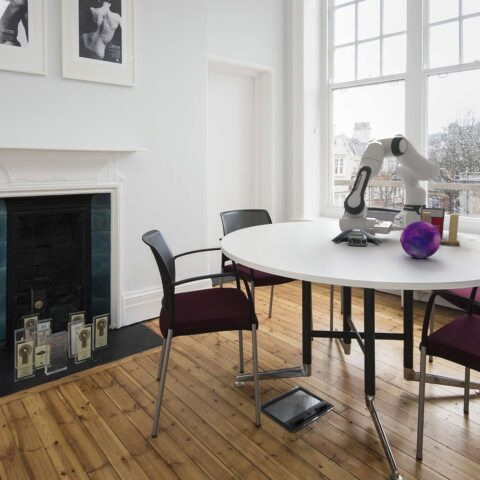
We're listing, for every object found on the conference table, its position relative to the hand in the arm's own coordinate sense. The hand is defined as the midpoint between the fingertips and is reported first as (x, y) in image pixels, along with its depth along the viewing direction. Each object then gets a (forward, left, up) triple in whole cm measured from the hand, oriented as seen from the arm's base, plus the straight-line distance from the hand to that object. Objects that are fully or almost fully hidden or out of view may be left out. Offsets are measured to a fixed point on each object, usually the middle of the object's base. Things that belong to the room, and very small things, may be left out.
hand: (400, 228), depth 216 cm
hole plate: (+5, +19, -6) cm, 20 cm away
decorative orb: (+35, -19, -6) cm, 41 cm away
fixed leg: (+16, +17, -5) cm, 24 cm away
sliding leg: (+7, +8, -4) cm, 12 cm away
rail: (+9, +10, -6) cm, 14 cm away
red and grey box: (-6, +23, -6) cm, 25 cm away
